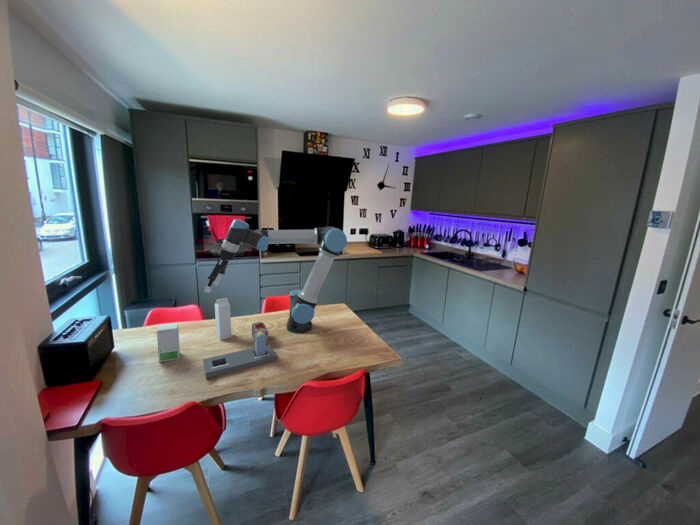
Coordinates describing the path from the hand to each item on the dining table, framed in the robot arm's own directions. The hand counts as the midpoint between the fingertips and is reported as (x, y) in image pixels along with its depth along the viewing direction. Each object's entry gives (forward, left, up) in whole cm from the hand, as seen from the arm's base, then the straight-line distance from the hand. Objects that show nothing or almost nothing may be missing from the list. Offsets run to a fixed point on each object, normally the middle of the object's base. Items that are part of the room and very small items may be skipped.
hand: (210, 288), depth 141 cm
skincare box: (+19, +3, -31) cm, 37 cm away
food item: (-22, +5, -31) cm, 38 cm away
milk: (-6, -8, -31) cm, 32 cm away
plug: (-18, +23, -30) cm, 42 cm away
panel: (-9, +23, -31) cm, 39 cm away
